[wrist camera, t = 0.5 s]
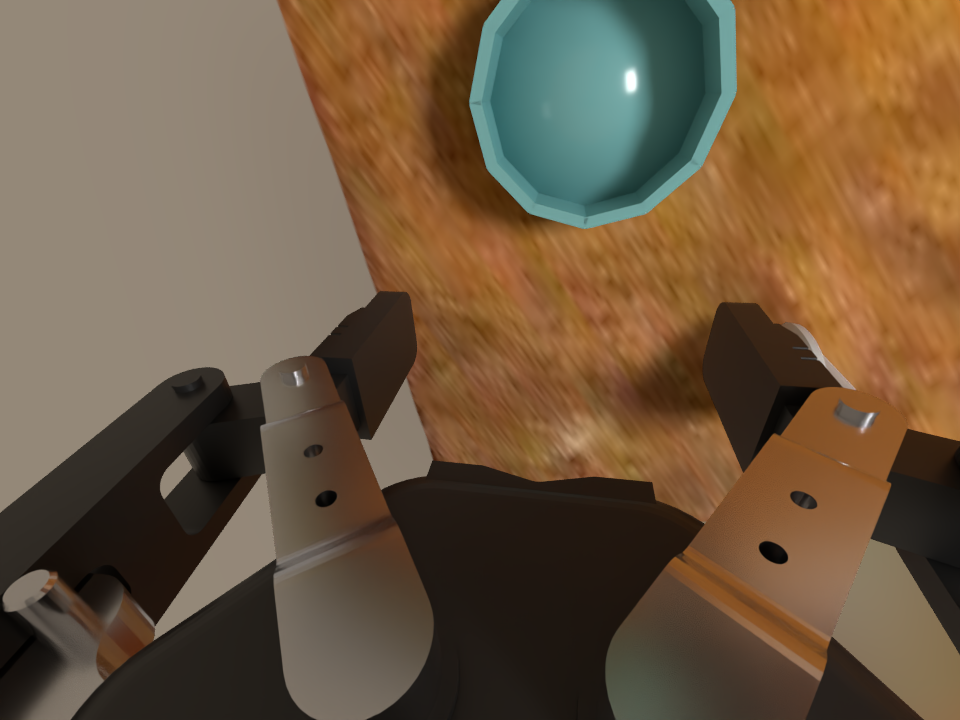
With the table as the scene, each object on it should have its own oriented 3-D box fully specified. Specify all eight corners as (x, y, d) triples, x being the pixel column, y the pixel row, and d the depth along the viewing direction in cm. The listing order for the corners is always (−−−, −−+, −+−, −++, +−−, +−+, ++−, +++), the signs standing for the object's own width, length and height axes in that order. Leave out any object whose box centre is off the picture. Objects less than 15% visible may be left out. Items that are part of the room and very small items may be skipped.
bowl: (515, -81, 27) (507, -108, 23) (763, -16, 27) (795, -33, 23) (465, 181, 35) (452, 192, 32) (652, 233, 35) (662, 250, 31)
